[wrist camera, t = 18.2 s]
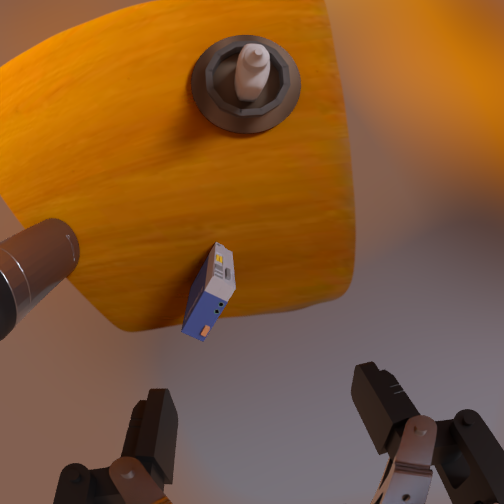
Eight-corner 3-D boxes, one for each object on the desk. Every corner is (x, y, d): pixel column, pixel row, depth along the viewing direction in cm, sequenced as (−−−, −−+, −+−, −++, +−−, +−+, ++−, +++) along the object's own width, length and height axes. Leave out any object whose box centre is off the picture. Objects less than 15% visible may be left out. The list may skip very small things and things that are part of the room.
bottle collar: (196, 138, 36) (193, 137, 32) (189, 42, 31) (186, 32, 28) (303, 131, 36) (310, 129, 33) (293, 37, 32) (299, 28, 29)
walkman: (207, 295, 43) (203, 343, 31) (190, 287, 42) (180, 333, 31) (233, 250, 41) (238, 287, 30) (216, 241, 40) (213, 275, 29)
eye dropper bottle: (221, 91, 33) (220, 63, 22) (244, 57, 32) (254, 19, 20) (251, 107, 34) (263, 86, 23) (274, 74, 33) (295, 42, 21)
